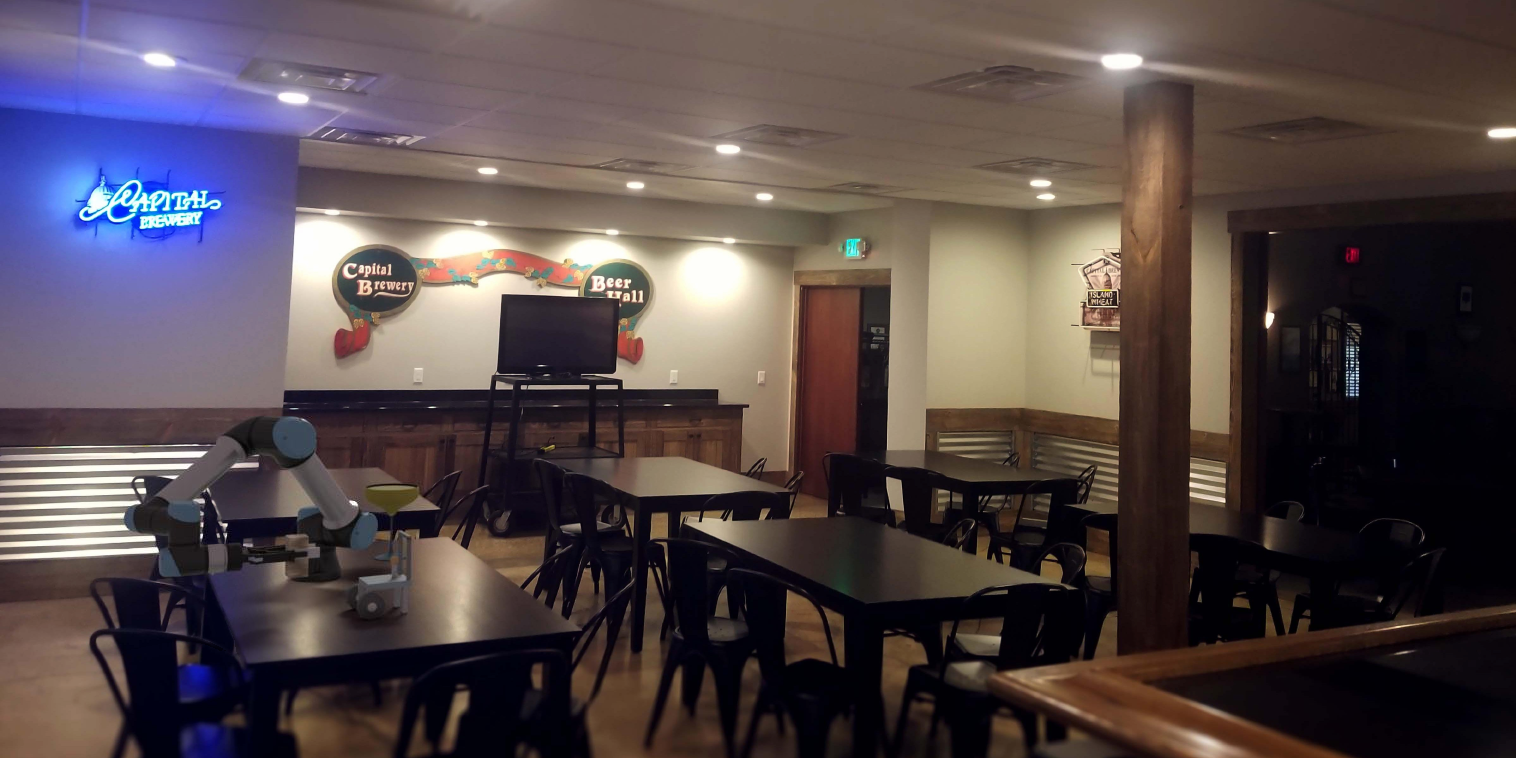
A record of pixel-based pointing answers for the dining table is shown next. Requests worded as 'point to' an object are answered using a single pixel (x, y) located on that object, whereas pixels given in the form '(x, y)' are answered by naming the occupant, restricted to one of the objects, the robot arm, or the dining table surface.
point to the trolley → (383, 586)
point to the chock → (299, 565)
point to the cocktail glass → (391, 504)
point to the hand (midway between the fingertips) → (317, 550)
